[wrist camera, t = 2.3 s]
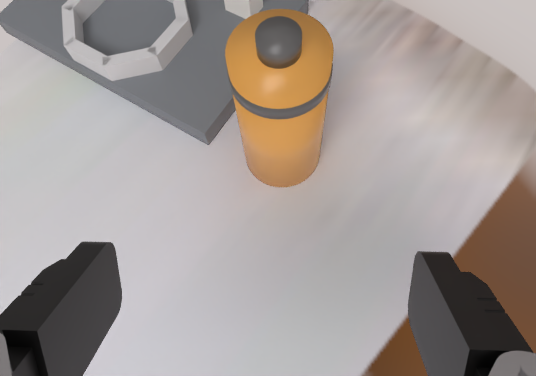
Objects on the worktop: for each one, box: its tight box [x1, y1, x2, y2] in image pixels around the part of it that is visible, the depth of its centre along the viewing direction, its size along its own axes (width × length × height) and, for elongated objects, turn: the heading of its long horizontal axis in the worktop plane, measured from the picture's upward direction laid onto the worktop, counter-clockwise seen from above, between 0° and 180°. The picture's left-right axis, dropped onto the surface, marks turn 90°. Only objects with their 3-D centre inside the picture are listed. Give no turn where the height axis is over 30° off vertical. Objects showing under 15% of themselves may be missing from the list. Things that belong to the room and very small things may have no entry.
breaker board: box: [0, 0, 308, 145], centre depth 32 cm, size 19×13×4 cm
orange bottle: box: [225, 9, 333, 187], centre depth 24 cm, size 5×5×11 cm
